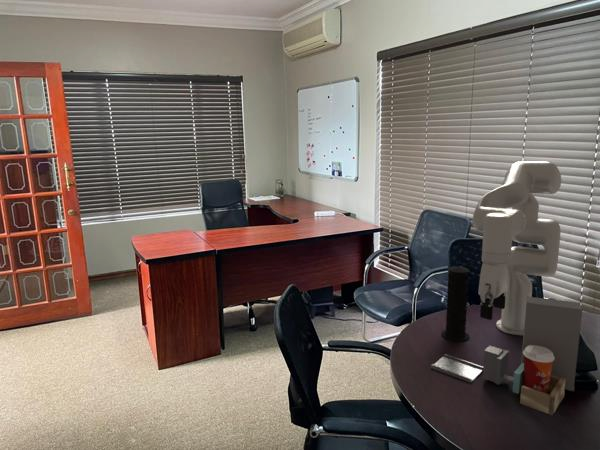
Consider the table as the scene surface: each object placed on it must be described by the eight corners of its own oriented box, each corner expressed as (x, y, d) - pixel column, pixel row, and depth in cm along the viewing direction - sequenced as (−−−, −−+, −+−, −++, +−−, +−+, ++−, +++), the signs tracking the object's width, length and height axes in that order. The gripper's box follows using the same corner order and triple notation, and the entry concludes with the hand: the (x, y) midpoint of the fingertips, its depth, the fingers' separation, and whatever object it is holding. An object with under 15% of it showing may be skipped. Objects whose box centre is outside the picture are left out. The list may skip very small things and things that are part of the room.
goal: (533, 385, 129) (535, 367, 127) (564, 395, 123) (566, 377, 122) (520, 403, 120) (521, 384, 119) (552, 415, 115) (554, 395, 114)
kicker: (489, 370, 135) (491, 343, 133) (526, 383, 127) (529, 355, 126) (480, 380, 130) (482, 352, 128) (518, 393, 123) (521, 364, 121)
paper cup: (540, 408, 118) (545, 360, 115) (513, 394, 124) (517, 349, 121) (556, 398, 122) (561, 352, 119) (529, 385, 128) (533, 341, 126)
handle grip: (442, 341, 157) (472, 343, 155) (445, 270, 151) (476, 271, 149) (439, 329, 166) (467, 330, 164) (442, 262, 161) (471, 263, 159)
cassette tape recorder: (571, 381, 130) (580, 301, 125) (573, 392, 125) (583, 309, 120) (519, 371, 136) (526, 295, 131) (519, 381, 131) (526, 302, 126)
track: (444, 356, 146) (444, 353, 146) (484, 370, 137) (484, 366, 137) (431, 367, 139) (431, 364, 139) (471, 382, 131) (471, 379, 130)
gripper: (494, 247, 133) (490, 300, 136) (470, 261, 120) (467, 319, 124) (520, 251, 128) (516, 306, 131) (498, 266, 115) (494, 326, 119)
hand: (492, 312), depth 128 cm, fingers open, 9 cm apart
